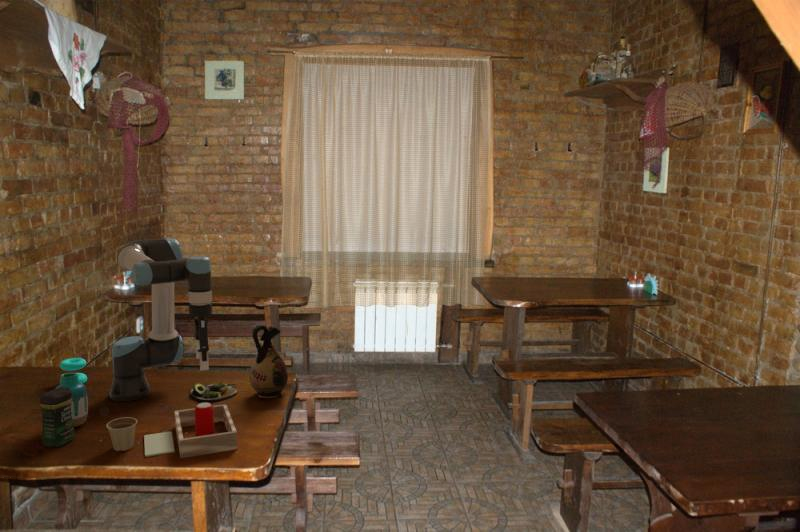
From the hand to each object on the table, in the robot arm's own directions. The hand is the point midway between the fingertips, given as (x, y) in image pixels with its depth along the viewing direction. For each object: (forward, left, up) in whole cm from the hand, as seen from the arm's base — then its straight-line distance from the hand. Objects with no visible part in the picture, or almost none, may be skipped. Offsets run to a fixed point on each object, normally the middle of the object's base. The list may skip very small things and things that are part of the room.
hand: (202, 363), depth 210 cm
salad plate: (-41, +7, -27) cm, 50 cm away
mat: (0, -15, -27) cm, 31 cm away
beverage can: (0, 0, -27) cm, 27 cm away
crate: (0, 0, -27) cm, 27 cm away
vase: (-27, -43, -27) cm, 57 cm away
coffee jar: (-14, -46, -27) cm, 55 cm away
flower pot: (-2, -26, -27) cm, 38 cm away
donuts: (-75, -46, -27) cm, 92 cm away
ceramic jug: (-32, +28, -27) cm, 50 cm away
